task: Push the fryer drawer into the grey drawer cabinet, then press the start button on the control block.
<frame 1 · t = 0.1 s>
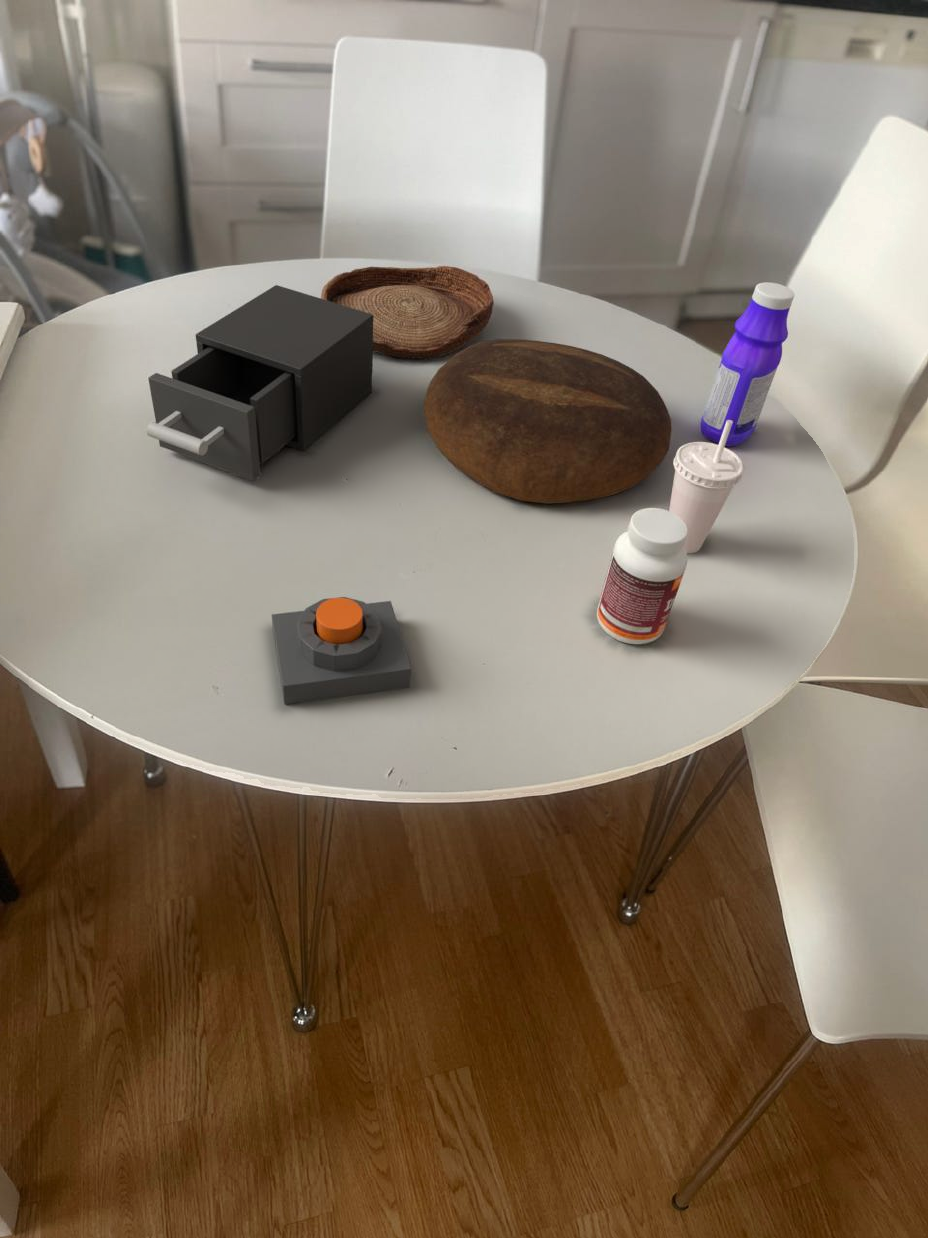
bottle: (724, 435, 104), on the table
pill bottle: (629, 623, 79), on the table
basket: (404, 326, 117), on the table
smoothie: (682, 542, 89), on the table
start button: (339, 621, 70), point 4 cm above the table, slide at 0.1 cm
bread: (543, 438, 100), on the table
fryer drawer: (230, 409, 89), point 5 cm above the table, slide at 7.0 cm
control block: (340, 659, 73), on the table
grey drawer cabinet: (291, 404, 100), on the table
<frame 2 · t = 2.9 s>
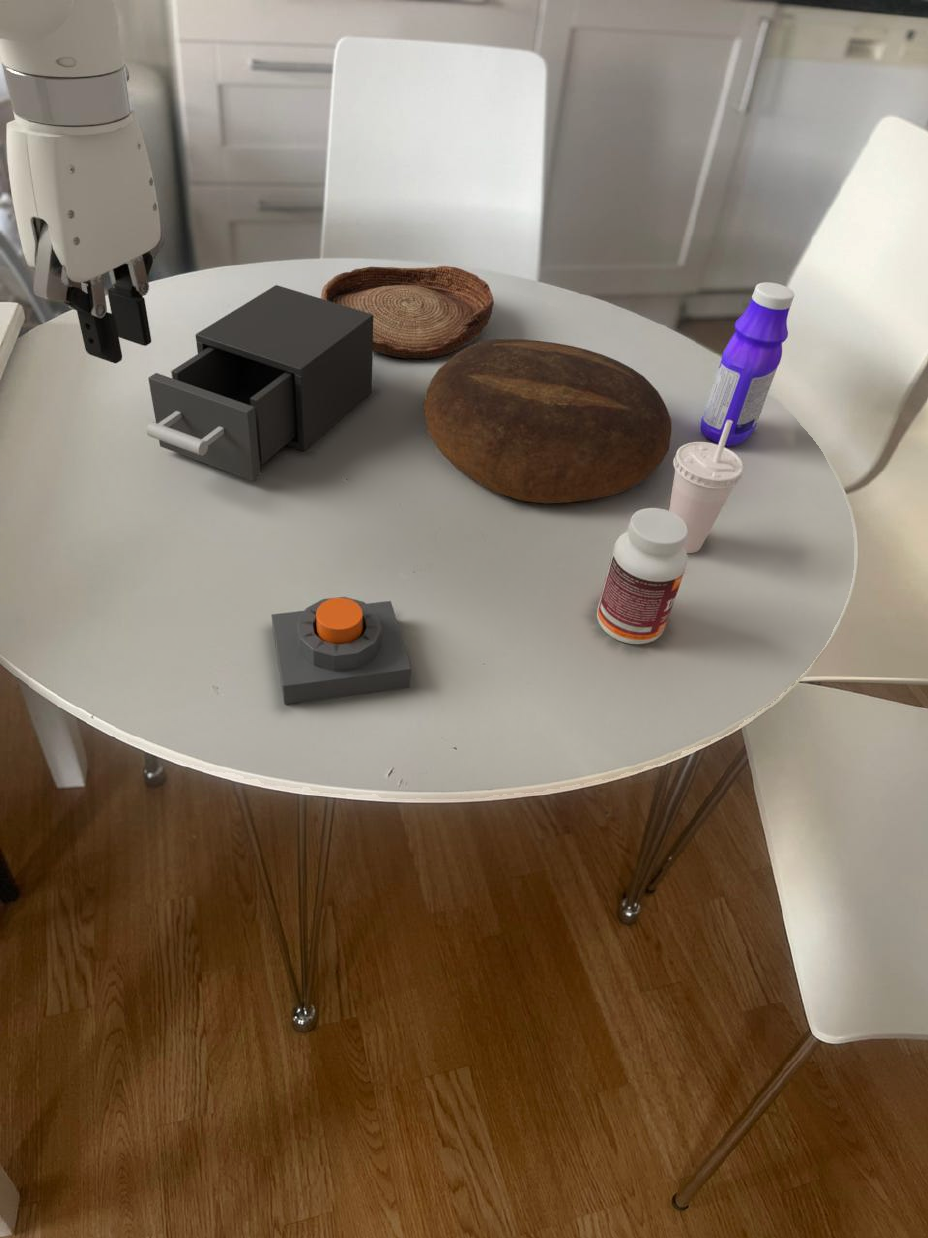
hand: (119, 346, 72), 17 cm above the table, tool pointing down, fingers closed
nothing on the table moved.
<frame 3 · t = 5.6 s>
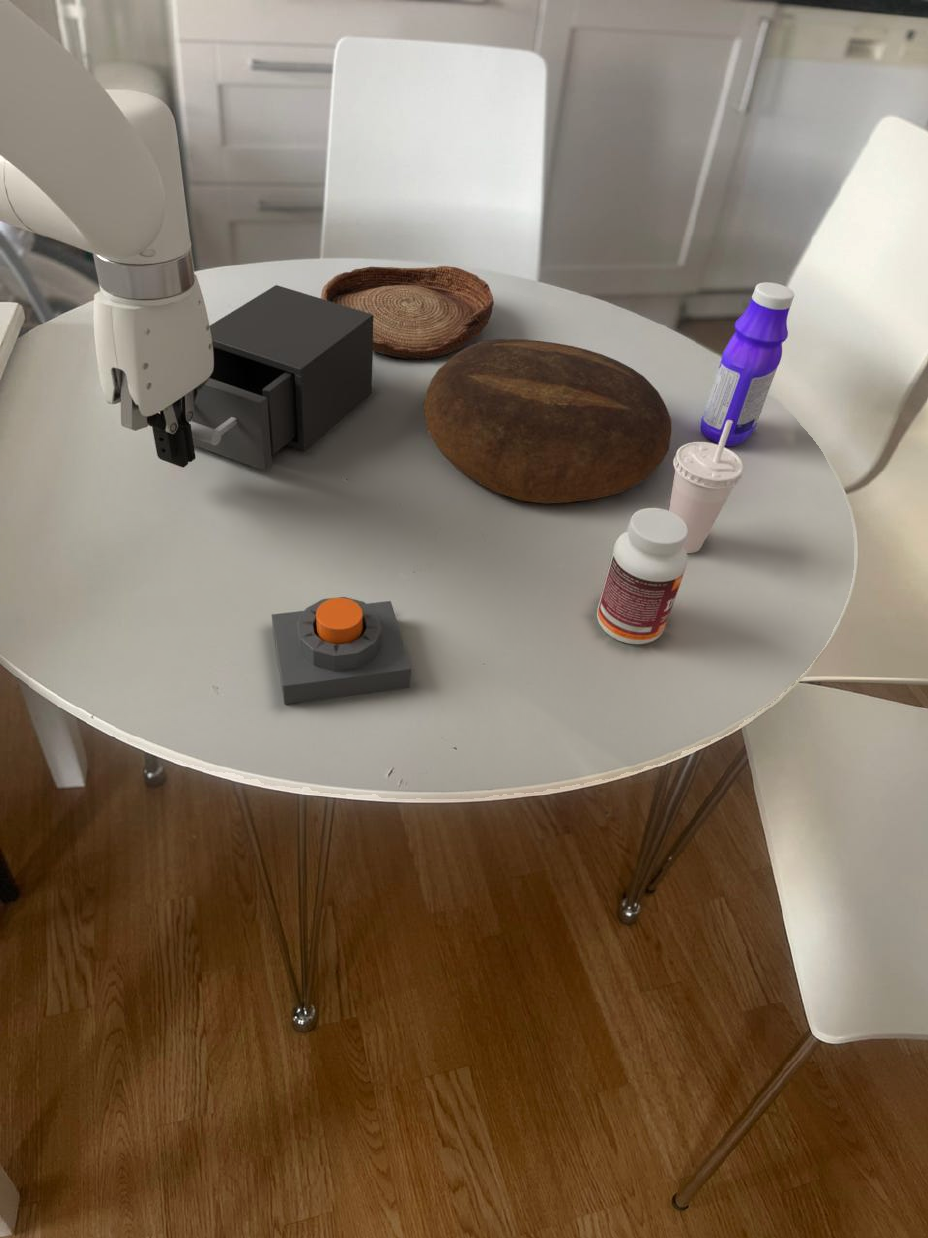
hand: (176, 458, 84), 4 cm above the table, tool pointing down, fingers closed
fryer drawer: (242, 400, 91), point 5 cm above the table, slide at 5.0 cm, touching gripper
everything else where it was.
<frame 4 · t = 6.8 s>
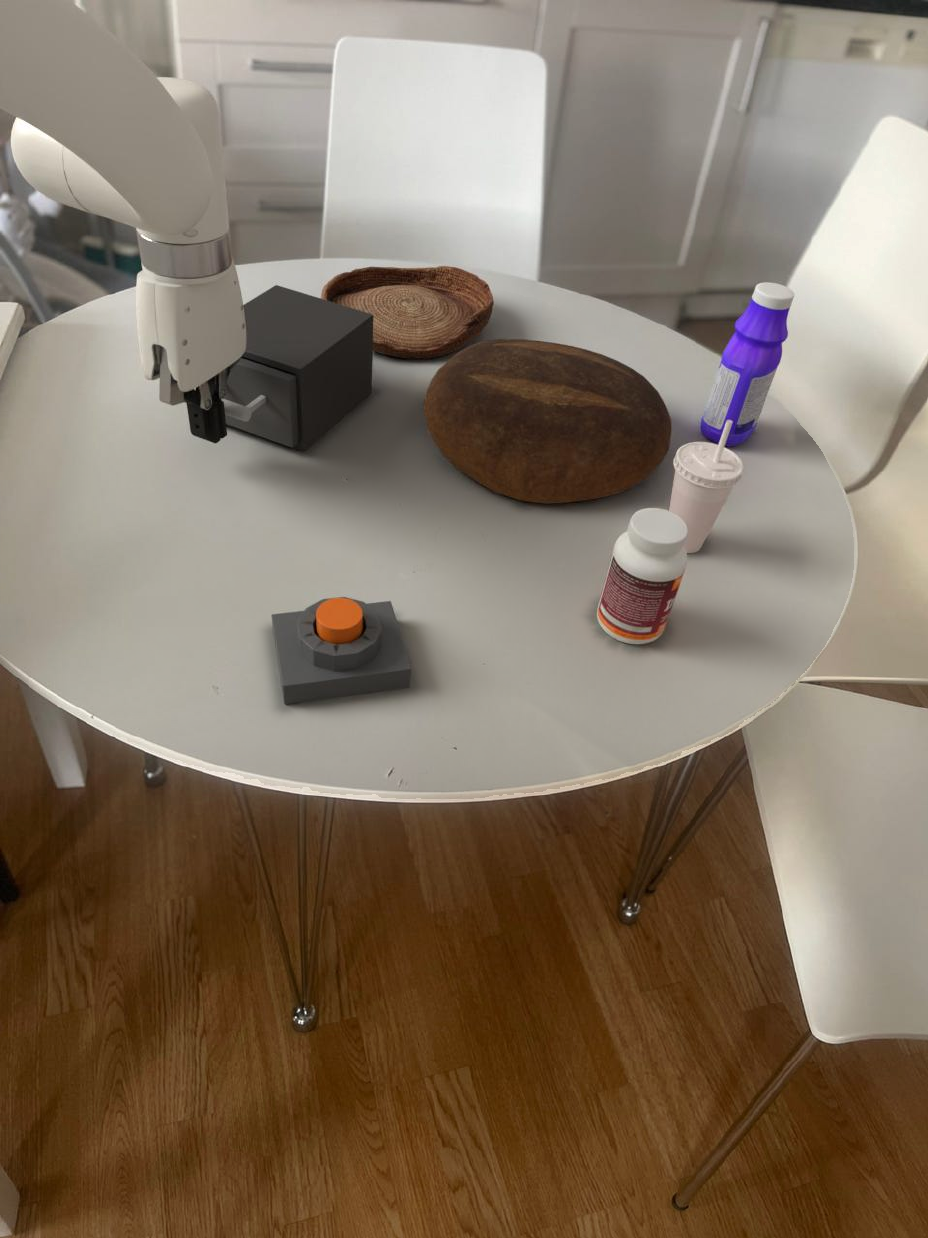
hand: (209, 435, 88), 4 cm above the table, tool pointing down, fingers closed
fryer drawer: (269, 380, 94), point 5 cm above the table, slide at 0.0 cm, touching grey drawer cabinet, gripper
everything else where it was.
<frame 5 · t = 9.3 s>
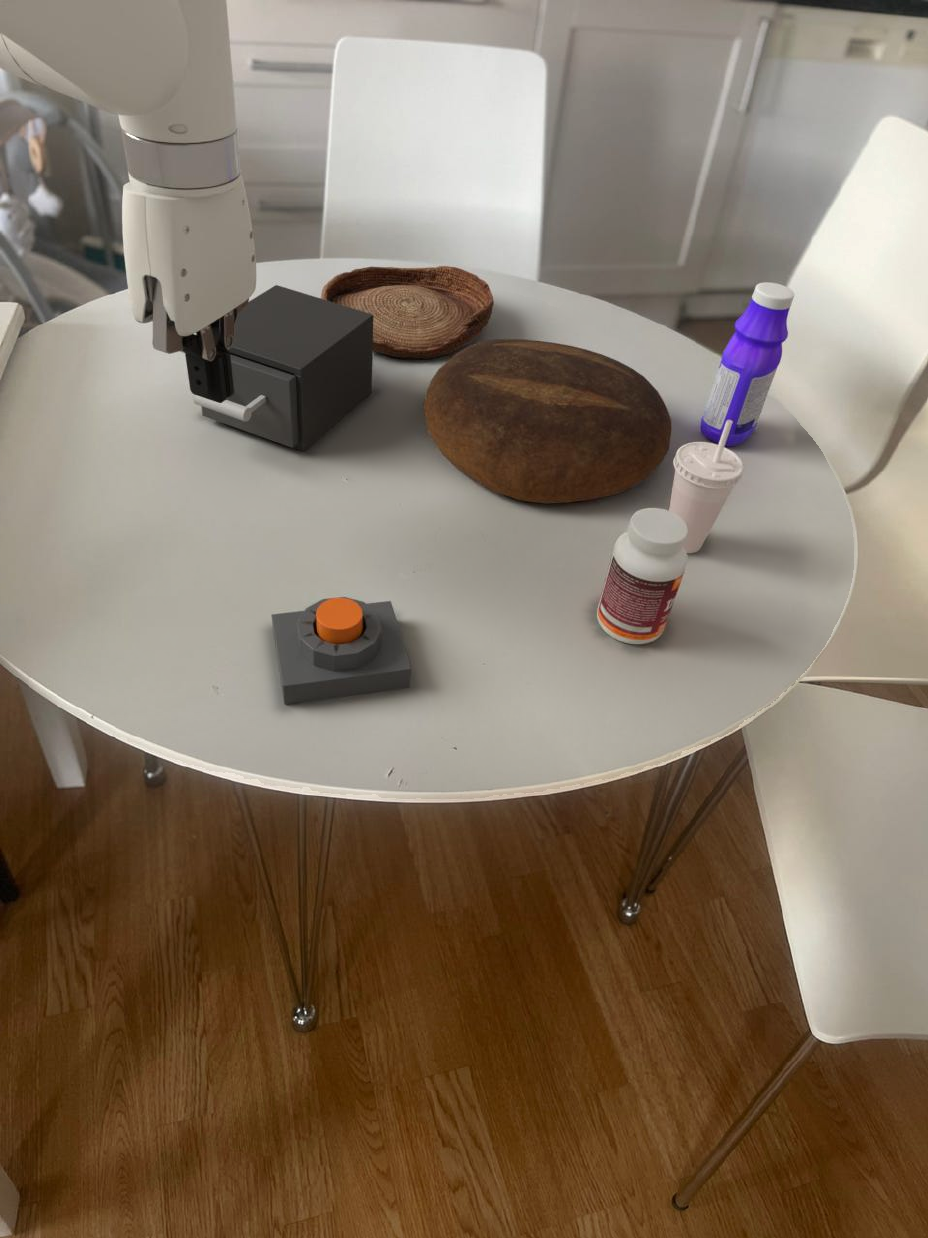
hand: (212, 394, 73), 14 cm above the table, tool pointing down, fingers closed
fryer drawer: (269, 380, 94), point 5 cm above the table, slide at 0.0 cm
everything else where it was.
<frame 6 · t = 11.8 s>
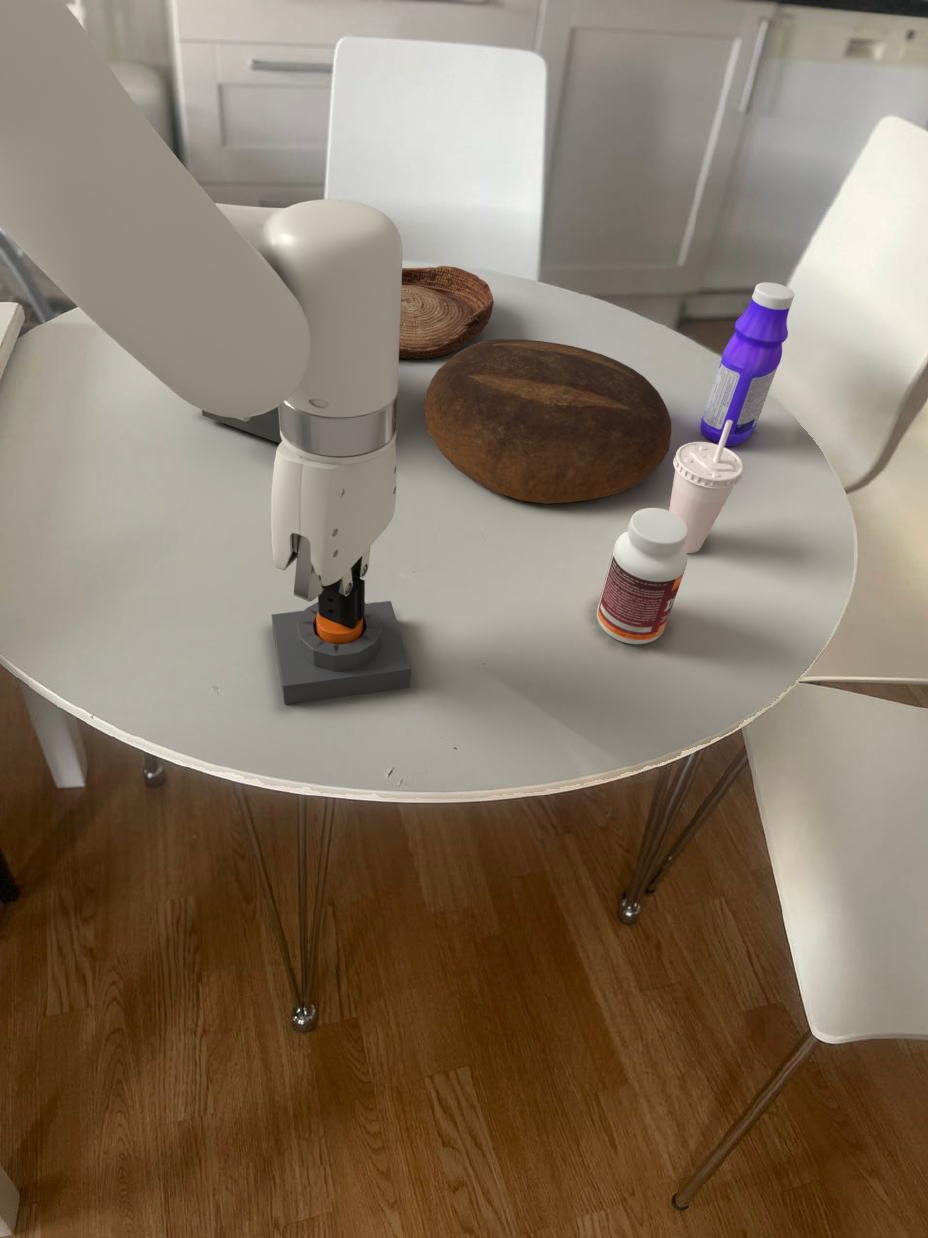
hand: (341, 616, 70), 5 cm above the table, tool pointing down, fingers closed
start button: (339, 625, 70), point 4 cm above the table, slide at -0.4 cm, touching gripper
everything else where it was.
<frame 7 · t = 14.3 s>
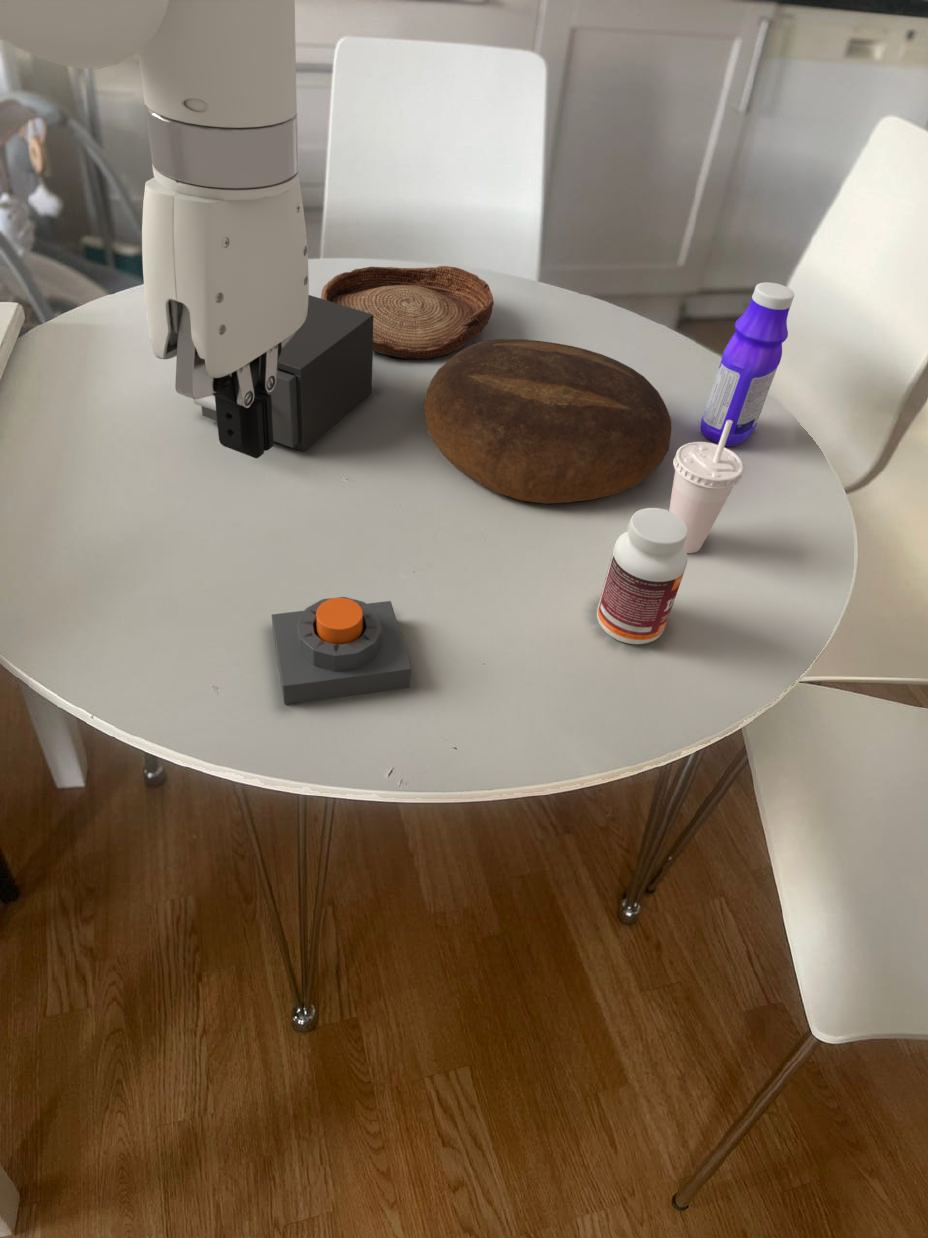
hand: (246, 446, 59), 20 cm above the table, tool pointing down, fingers closed
start button: (339, 621, 70), point 4 cm above the table, slide at 0.1 cm
everything else where it was.
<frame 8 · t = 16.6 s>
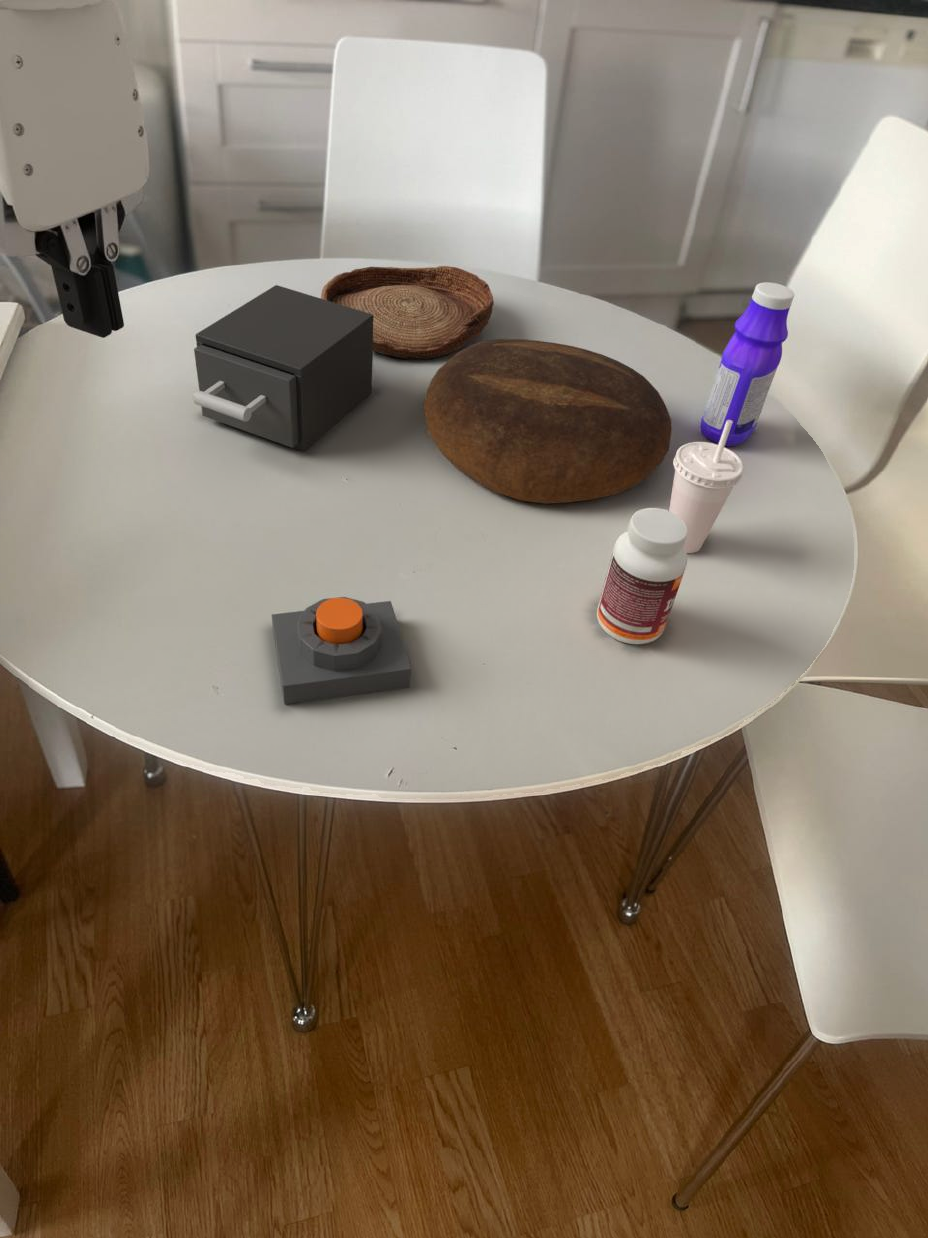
hand: (95, 326, 54), 27 cm above the table, tool pointing down, fingers closed
nothing on the table moved.
at the end: fryer drawer slide at 0.0 cm; start button pushed in 0.8 cm at the most during the clip, back to where it started at the end; start button slide at 0.1 cm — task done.
